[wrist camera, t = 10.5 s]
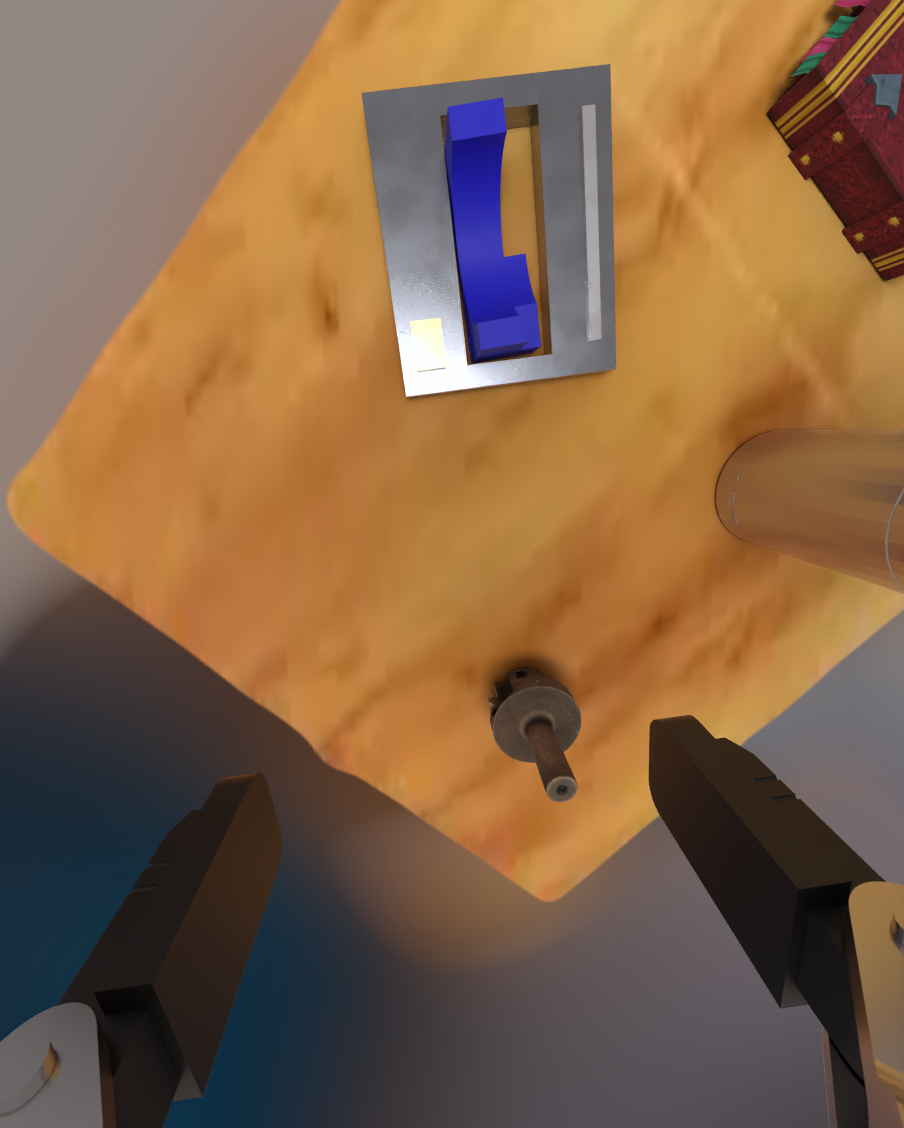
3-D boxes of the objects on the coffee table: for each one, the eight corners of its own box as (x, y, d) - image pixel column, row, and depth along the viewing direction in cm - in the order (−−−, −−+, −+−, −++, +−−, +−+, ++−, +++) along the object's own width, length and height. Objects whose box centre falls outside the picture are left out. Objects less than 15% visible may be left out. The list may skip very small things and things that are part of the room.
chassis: (597, 89, 29) (614, 56, 26) (604, 372, 33) (619, 367, 31) (365, 115, 28) (360, 85, 26) (407, 398, 33) (406, 395, 31)
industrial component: (465, 695, 41) (482, 799, 29) (515, 637, 39) (553, 722, 28) (542, 745, 43) (585, 860, 31) (592, 691, 41) (657, 791, 30)
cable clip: (530, 353, 33) (553, 337, 27) (471, 364, 33) (481, 349, 27) (509, 158, 29) (530, 92, 24) (443, 170, 29) (447, 106, 24)
